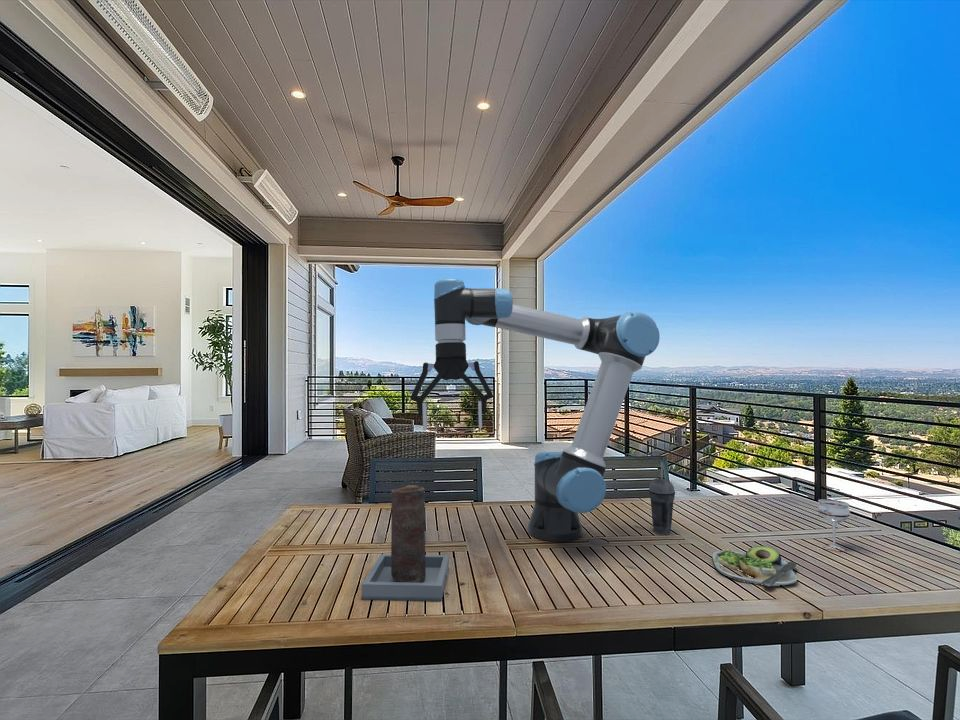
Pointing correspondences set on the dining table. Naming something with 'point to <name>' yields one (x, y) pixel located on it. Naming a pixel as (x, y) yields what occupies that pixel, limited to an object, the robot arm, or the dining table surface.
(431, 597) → the tray
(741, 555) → the salad plate
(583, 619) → the dining table surface
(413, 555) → the brown rough cylinder
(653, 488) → the beverage cup
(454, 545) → the dining table surface
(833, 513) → the wineglass
